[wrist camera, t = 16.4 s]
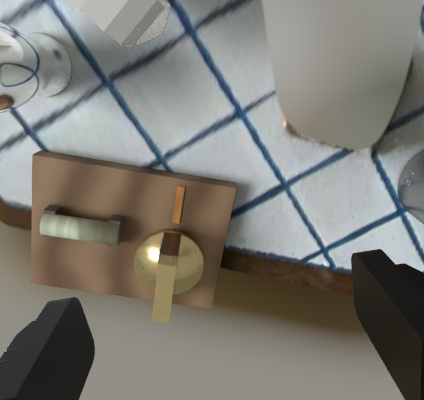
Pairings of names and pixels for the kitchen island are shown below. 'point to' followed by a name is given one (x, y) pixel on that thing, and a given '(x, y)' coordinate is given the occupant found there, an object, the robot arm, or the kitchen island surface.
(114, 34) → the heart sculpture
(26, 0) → the kitchen island surface
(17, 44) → the beer glass
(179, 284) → the wing knob
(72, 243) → the knob and handle board
